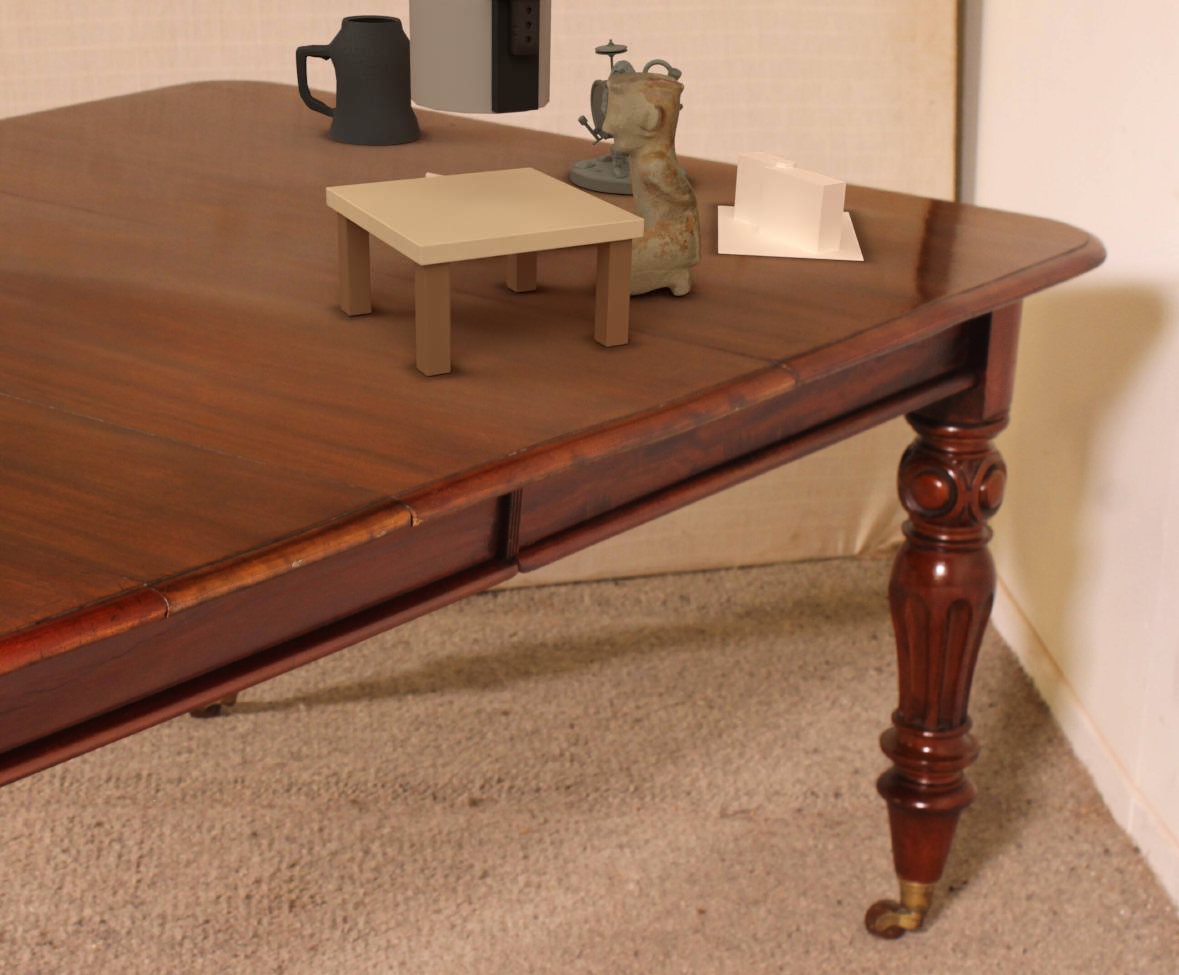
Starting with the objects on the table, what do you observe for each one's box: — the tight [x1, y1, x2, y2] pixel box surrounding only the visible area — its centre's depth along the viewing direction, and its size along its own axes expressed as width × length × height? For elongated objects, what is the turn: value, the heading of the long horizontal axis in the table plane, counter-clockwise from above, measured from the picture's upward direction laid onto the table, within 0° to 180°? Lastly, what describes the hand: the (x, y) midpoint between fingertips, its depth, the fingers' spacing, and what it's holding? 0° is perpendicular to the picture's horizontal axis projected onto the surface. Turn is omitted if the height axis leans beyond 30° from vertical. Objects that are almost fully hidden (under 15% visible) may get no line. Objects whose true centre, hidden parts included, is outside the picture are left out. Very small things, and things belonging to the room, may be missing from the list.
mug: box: [295, 14, 422, 146], centre depth 147 cm, size 12×9×11 cm
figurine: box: [569, 38, 688, 195], centre depth 133 cm, size 11×11×12 cm
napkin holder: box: [717, 151, 865, 262], centre depth 120 cm, size 15×11×6 cm
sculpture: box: [595, 71, 702, 297], centre depth 102 cm, size 6×7×15 cm
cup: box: [408, 0, 552, 115], centre depth 89 cm, size 8×8×10 cm
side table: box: [325, 167, 644, 377], centre depth 96 cm, size 15×15×8 cm
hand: (481, 96), depth 91 cm, fingers closed on cup, 8 cm apart
